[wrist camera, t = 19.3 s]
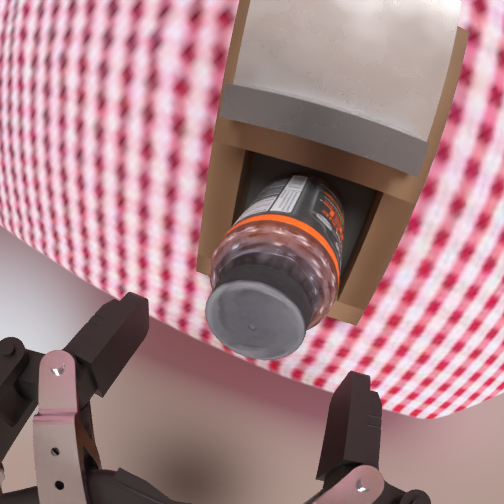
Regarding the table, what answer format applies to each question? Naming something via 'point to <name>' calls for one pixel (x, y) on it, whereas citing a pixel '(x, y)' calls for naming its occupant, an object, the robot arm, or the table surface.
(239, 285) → the supplement bottle
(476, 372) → the table surface
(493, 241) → the table surface
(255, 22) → the shutter lid
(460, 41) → the socket board
